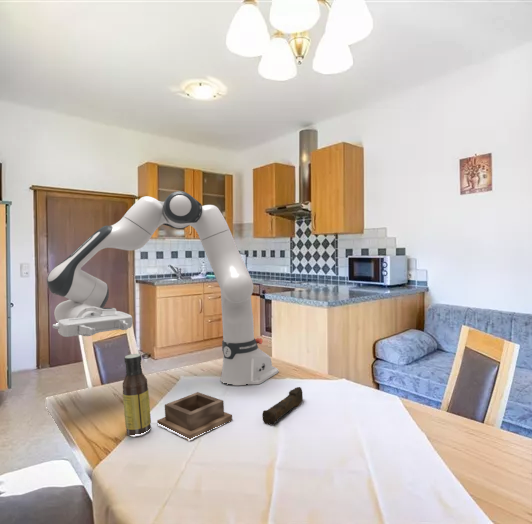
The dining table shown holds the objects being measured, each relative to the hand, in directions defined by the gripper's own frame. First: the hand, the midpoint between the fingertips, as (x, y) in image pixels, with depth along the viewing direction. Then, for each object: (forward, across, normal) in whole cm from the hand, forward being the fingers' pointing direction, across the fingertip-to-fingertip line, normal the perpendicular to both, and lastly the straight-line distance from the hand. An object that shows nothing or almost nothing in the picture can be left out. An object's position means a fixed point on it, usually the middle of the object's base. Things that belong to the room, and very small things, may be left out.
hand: (109, 329), depth 103 cm
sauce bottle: (+15, +1, +24) cm, 28 cm away
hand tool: (+38, +32, +21) cm, 54 cm away
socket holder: (+23, +13, +23) cm, 35 cm away
